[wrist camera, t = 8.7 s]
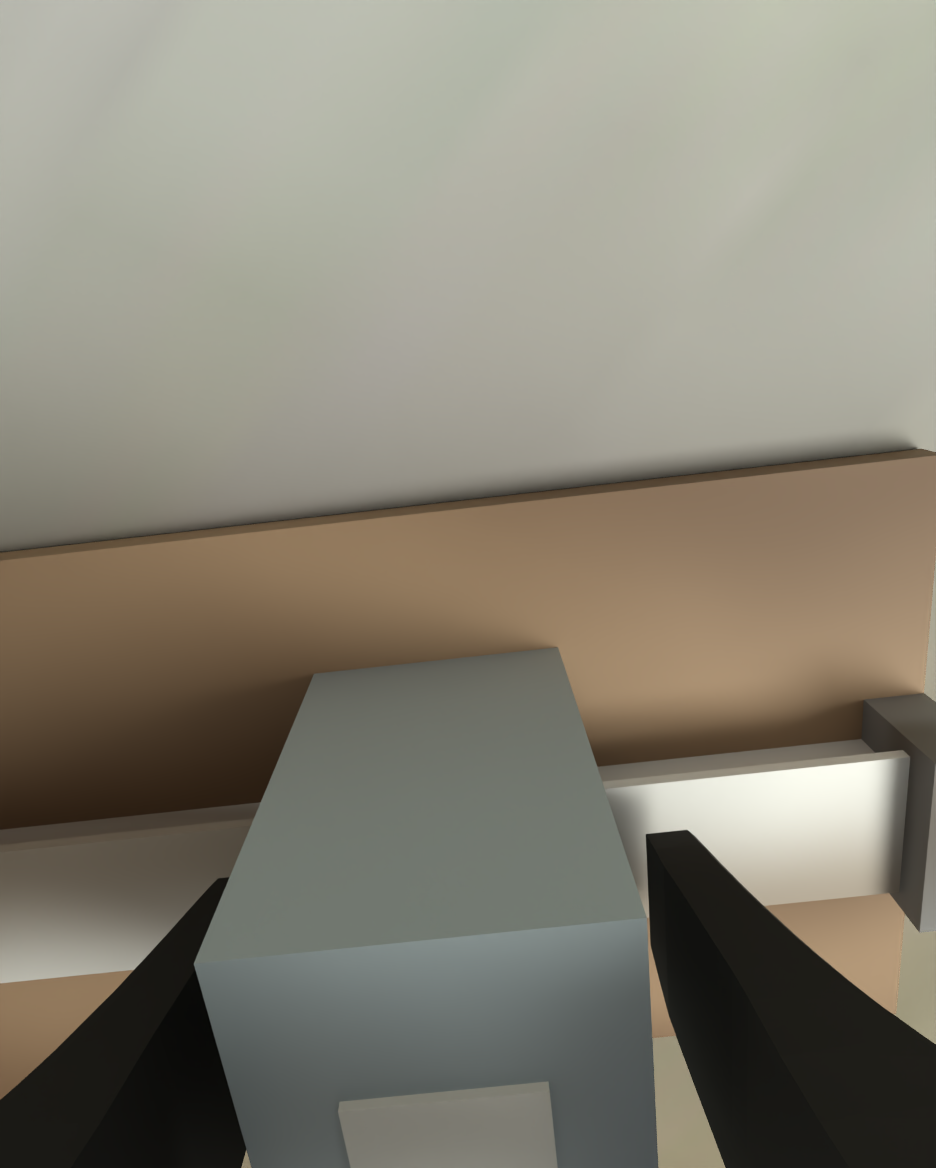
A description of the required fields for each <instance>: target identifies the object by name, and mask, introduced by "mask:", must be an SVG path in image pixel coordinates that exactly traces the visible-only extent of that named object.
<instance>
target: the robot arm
mask: <svg viewBox="0 0 936 1168" xmlns="http://www.w3.org/2000/svg"><path fill="white" fill-rule="evenodd" d="M646 853H647V876H648V898H649V921H650V944H651V949H652V953H653V957H654V961H655V965H656V969H657V973H658V977H659V981H660V985H661V988H662V992H663V996H664V1000H665V1003H666V1007H667V1011H668V1015H669V1018H670V1020H671V1023H672V1026H673V1029H674V1031H675V1034H676V1037H677V1039H678V1042H679V1045H680V1048H681V1050H682V1053H683V1056H684V1058H685V1061H686V1064H687V1066H688V1069H689V1072H690V1074H691V1077H692V1080H693V1082H694V1085H695V1088H696V1090H697V1093H698V1096H699V1098H700V1101H701V1104H702V1106H703V1109H704V1112H705V1114H706V1117H707V1119H708V1122H709V1125H710V1127H711V1130H712V1133H713V1135H714V1138H715V1141H716V1143H717V1146H718V1149H719V1151H720V1154H721V1157H722V1159H723V1162H724V1165H725V1167H726V1168H936V1044H934V1043H933V1042H931V1041H930V1040H928V1039H927V1038H925V1037H924V1036H923V1035H921V1034H920V1033H918V1032H917V1031H916V1030H914V1029H913V1028H911V1027H910V1026H909V1025H907V1024H906V1023H904V1022H903V1021H902V1020H900V1019H899V1018H898V1017H896V1016H895V1015H893V1014H892V1013H891V1012H889V1011H888V1010H887V1009H885V1008H884V1007H882V1006H881V1005H880V1004H878V1003H877V1002H876V1001H874V1000H873V999H872V998H871V997H869V996H868V995H867V994H865V993H864V992H863V991H862V990H860V989H859V988H858V987H857V986H855V985H854V984H853V983H852V982H850V981H849V980H848V979H847V978H845V977H844V976H843V975H842V974H841V973H839V972H838V971H837V970H836V969H835V968H833V967H832V966H831V965H830V964H829V963H827V962H826V961H825V960H824V959H823V958H821V957H820V956H819V955H818V954H817V953H815V952H814V951H813V950H812V949H811V948H810V947H809V946H807V945H806V944H805V943H804V942H803V941H802V940H801V939H799V938H798V937H797V936H796V935H795V934H794V933H793V932H792V931H791V930H790V929H788V928H787V927H786V926H785V925H784V924H783V923H782V922H781V921H780V920H779V919H778V918H777V917H775V916H774V915H773V914H772V913H771V912H770V911H769V910H768V909H767V908H766V907H765V906H763V905H762V904H761V903H760V902H759V901H758V900H757V899H756V898H755V897H754V896H753V895H752V894H751V893H750V892H749V891H748V890H747V889H746V888H745V887H744V886H743V885H742V884H741V883H740V882H739V881H738V880H737V879H736V878H735V877H734V876H733V875H732V874H731V873H730V872H729V871H728V870H727V869H726V868H725V867H724V866H723V865H722V864H721V863H720V862H719V861H718V860H717V859H716V858H715V857H714V856H713V855H712V854H711V852H710V851H709V850H708V849H707V848H706V847H705V846H704V845H703V844H702V843H701V842H700V841H699V840H698V839H697V838H696V837H695V836H694V835H693V834H692V833H691V832H690V831H688V830H679V831H670V832H660V833H650V834H646ZM229 878H230V877H226V878H218V879H217V880H216V881H215V882H214V883H213V884H212V885H211V886H210V887H209V888H208V889H207V890H206V891H205V892H204V894H203V895H202V896H201V897H200V898H199V899H198V900H197V901H196V902H195V903H194V905H193V906H192V907H191V908H190V909H189V910H188V911H187V912H186V913H185V915H184V916H183V917H182V918H181V919H180V920H179V921H178V922H177V924H176V925H175V926H174V927H173V928H172V929H171V930H170V931H169V932H168V934H167V935H166V936H165V937H164V938H163V939H162V940H161V941H160V942H159V943H158V945H157V946H156V947H155V948H154V949H153V950H152V951H151V952H150V953H149V954H148V955H147V956H146V958H145V959H144V960H143V961H142V962H141V963H140V964H139V965H138V966H137V967H136V968H135V969H134V971H133V972H132V973H131V974H130V975H129V976H128V977H127V978H126V979H125V980H124V981H123V982H122V983H121V985H120V986H119V987H118V988H117V989H116V990H115V991H114V992H113V993H112V994H111V995H110V996H109V997H108V998H107V999H106V1000H105V1001H104V1002H103V1003H102V1004H101V1005H100V1006H99V1007H98V1008H97V1009H96V1010H95V1011H94V1012H93V1013H92V1014H91V1015H90V1016H89V1017H88V1018H87V1019H86V1020H85V1021H84V1022H83V1023H82V1024H81V1025H80V1026H79V1027H78V1028H77V1029H76V1030H75V1031H74V1032H73V1033H72V1034H71V1035H70V1036H69V1037H68V1038H67V1039H66V1040H65V1041H64V1042H63V1043H62V1044H61V1045H60V1046H59V1047H58V1048H57V1049H56V1050H55V1051H54V1052H52V1053H51V1054H50V1055H49V1056H48V1057H47V1058H46V1059H45V1060H44V1061H43V1062H42V1063H41V1064H40V1065H39V1066H38V1067H36V1068H35V1069H34V1070H33V1071H32V1072H31V1073H30V1074H29V1075H28V1076H27V1077H25V1078H24V1079H23V1080H22V1081H21V1082H20V1083H19V1084H18V1085H17V1086H15V1087H14V1088H13V1089H12V1090H11V1091H10V1092H9V1093H7V1094H6V1095H5V1096H4V1097H3V1098H2V1099H0V1168H241V1166H242V1163H243V1159H244V1156H245V1152H246V1146H245V1142H244V1139H243V1135H242V1132H241V1128H240V1125H239V1121H238V1118H237V1114H236V1111H235V1107H234V1104H233V1100H232V1097H231V1093H230V1089H229V1086H228V1082H227V1079H226V1075H225V1072H224V1068H223V1065H222V1061H221V1058H220V1054H219V1051H218V1047H217V1044H216V1040H215V1037H214V1033H213V1030H212V1026H211V1023H210V1019H209V1016H208V1012H207V1009H206V1005H205V1001H204V998H203V994H202V991H201V987H200V984H199V980H198V977H197V973H196V970H195V966H194V962H195V960H196V957H197V955H198V952H199V950H200V947H201V945H202V943H203V940H204V938H205V935H206V933H207V931H208V928H209V926H210V923H211V921H212V919H213V916H214V914H215V911H216V909H217V906H218V904H219V902H220V899H221V897H222V894H223V892H224V890H225V887H226V885H227V882H228V880H229Z"/></svg>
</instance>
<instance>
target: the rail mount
mask: <svg viewBox="0 0 936 1168" xmlns="http://www.w3.org/2000/svg"><path fill="white" fill-rule="evenodd" d="M935 558H936V452H932V451H928V450H924V449H915V450H906V451H897V452H888V453H879V454H870V455H862V456H853V457H844V458H835V459H826V460H817V461H808V462H800V463H791V464H782V465H773V466H764V467H755V468H746V469H737V470H729V471H720V472H711V473H702V474H693V475H684V476H675V477H667V478H658V479H649V480H640V481H631V482H622V483H613V484H604V485H596V486H587V487H578V488H569V489H560V490H551V491H542V492H534V493H525V494H516V495H507V496H498V497H489V498H480V499H471V500H463V501H454V502H445V503H436V504H427V505H418V506H409V507H401V508H392V509H383V510H374V511H365V512H356V513H347V514H338V515H330V516H321V517H312V518H303V519H294V520H285V521H276V522H268V523H259V524H250V525H241V526H232V527H223V528H214V529H205V530H197V531H188V532H179V533H170V534H161V535H152V536H143V537H135V538H126V539H117V540H108V541H99V542H90V543H81V544H72V545H64V546H55V547H46V548H37V549H28V550H19V551H10V552H2V553H0V1099H2V1098H3V1097H4V1096H5V1095H6V1094H7V1093H9V1092H10V1091H11V1090H12V1089H13V1088H14V1087H15V1086H17V1085H18V1084H19V1083H20V1082H21V1081H22V1080H23V1079H24V1078H25V1077H27V1076H28V1075H29V1074H30V1073H31V1072H32V1071H33V1070H34V1069H35V1068H36V1067H38V1066H39V1065H40V1064H41V1063H42V1062H43V1061H44V1060H45V1059H46V1058H47V1057H48V1056H49V1055H50V1054H51V1053H52V1052H54V1051H55V1050H56V1049H57V1048H58V1047H59V1046H60V1045H61V1044H62V1043H63V1042H64V1041H65V1040H66V1039H67V1038H68V1037H69V1036H70V1035H71V1034H72V1033H73V1032H74V1031H75V1030H76V1029H77V1028H78V1027H79V1026H80V1025H81V1024H82V1023H83V1022H84V1021H85V1020H86V1019H87V1018H88V1017H89V1016H90V1015H91V1014H92V1013H93V1012H94V1011H95V1010H96V1009H97V1008H98V1007H99V1006H100V1005H101V1004H102V1003H103V1002H104V1001H105V1000H106V999H107V998H108V997H109V996H110V995H111V994H112V993H113V992H114V991H115V990H116V989H117V988H118V987H119V986H120V985H121V983H122V982H123V981H124V980H125V979H126V978H127V977H128V976H129V975H130V974H131V973H132V972H133V971H134V969H135V968H136V967H137V966H138V965H139V964H140V963H141V962H142V961H143V960H144V959H145V958H146V956H147V955H148V954H149V953H150V952H151V951H152V950H153V949H154V948H155V947H156V946H157V945H158V943H159V942H160V941H161V940H162V939H163V938H164V937H165V936H166V935H167V934H168V932H169V931H170V930H171V929H172V928H173V927H174V926H175V925H176V924H177V922H178V921H179V920H180V919H181V918H182V917H183V916H184V915H185V913H186V912H187V911H188V910H189V909H190V908H191V907H192V906H193V905H194V903H195V902H196V901H197V900H198V899H199V898H200V897H201V896H202V895H203V894H204V892H205V891H206V890H207V889H208V888H209V887H210V886H211V885H212V884H213V883H214V882H215V881H216V880H217V879H218V878H226V877H230V875H231V873H232V870H233V868H234V866H235V863H236V861H237V858H238V856H239V853H240V851H241V849H242V846H243V844H244V841H245V839H246V837H247V834H248V832H249V829H250V827H251V825H252V822H253V820H254V817H255V815H256V813H257V810H258V808H259V805H260V803H261V800H262V798H263V796H264V793H265V791H266V788H267V786H268V784H269V781H270V779H271V776H272V774H273V772H274V769H275V767H276V764H277V762H278V759H279V757H280V755H281V752H282V750H283V747H284V745H285V743H286V740H287V738H288V735H289V733H290V731H291V728H292V726H293V723H294V721H295V719H296V716H297V714H298V711H299V709H300V706H301V704H302V702H303V699H304V697H305V694H306V692H307V690H308V687H309V685H310V682H311V680H312V678H313V675H314V674H317V673H326V672H335V671H344V670H354V669H363V668H372V667H381V666H390V665H400V664H409V663H418V662H427V661H437V660H446V659H455V658H464V657H473V656H483V655H492V654H501V653H510V652H520V651H529V650H538V649H547V648H556V647H558V648H559V652H560V655H561V658H562V661H563V664H564V667H565V670H566V673H567V676H568V679H569V682H570V685H571V688H572V691H573V694H574V697H575V700H576V703H577V706H578V709H579V712H580V716H581V719H582V722H583V725H584V728H585V731H586V734H587V737H588V740H589V743H590V746H591V749H592V752H593V755H594V758H595V761H596V764H597V767H598V770H599V773H600V776H601V780H602V783H603V786H604V789H605V792H606V795H607V798H608V801H609V804H610V807H611V810H612V813H613V816H614V819H615V822H616V825H617V828H618V831H619V834H620V837H621V840H622V844H623V847H624V850H625V853H626V856H627V859H628V862H629V865H630V868H631V871H632V874H633V877H634V880H635V883H636V886H637V889H638V892H639V895H640V898H641V901H642V904H643V908H644V911H645V914H646V917H647V932H648V954H649V976H650V998H651V1020H652V1038H657V1037H667V1036H676V1034H675V1031H674V1029H673V1026H672V1023H671V1020H670V1018H669V1015H668V1011H667V1007H666V1003H665V1000H664V996H663V992H662V988H661V985H660V981H659V977H658V973H657V969H656V965H655V961H654V957H653V953H652V949H651V944H650V921H649V898H648V876H647V853H646V834H650V833H660V832H670V831H679V830H688V831H690V832H691V833H692V834H693V835H694V836H695V837H696V838H697V839H698V840H699V841H700V842H701V843H702V844H703V845H704V846H705V847H706V848H707V849H708V850H709V851H710V852H711V854H712V855H713V856H714V857H715V858H716V859H717V860H718V861H719V862H720V863H721V864H722V865H723V866H724V867H725V868H726V869H727V870H728V871H729V872H730V873H731V874H732V875H733V876H734V877H735V878H736V879H737V880H738V881H739V882H740V883H741V884H742V885H743V886H744V887H745V888H746V889H747V890H748V891H749V892H750V893H751V894H752V895H753V896H754V897H755V898H756V899H757V900H758V901H759V902H760V903H761V904H762V905H763V906H765V907H766V908H767V909H768V910H769V911H770V912H771V913H772V914H773V915H774V916H775V917H777V918H778V919H779V920H780V921H781V922H782V923H783V924H784V925H785V926H786V927H787V928H788V929H790V930H791V931H792V932H793V933H794V934H795V935H796V936H797V937H798V938H799V939H801V940H802V941H803V942H804V943H805V944H806V945H807V946H809V947H810V948H811V949H812V950H813V951H814V952H815V953H817V954H818V955H819V956H820V957H821V958H823V959H824V960H825V961H826V962H827V963H829V964H830V965H831V966H832V967H833V968H835V969H836V970H837V971H838V972H839V973H841V974H842V975H843V976H844V977H845V978H847V979H848V980H849V981H850V982H852V983H853V984H854V985H855V986H857V987H858V988H859V989H860V990H862V991H863V992H864V993H865V994H867V995H868V996H869V997H871V998H872V999H873V1000H874V1001H876V1002H877V1003H878V1004H880V1005H881V1006H882V1007H884V1008H885V1009H887V1010H888V1011H889V1012H891V1013H892V1014H896V1008H897V997H898V985H899V974H900V962H901V951H902V939H903V928H904V916H905V914H906V916H907V917H908V918H909V919H910V921H911V922H912V923H913V925H914V926H915V927H916V929H917V930H918V931H919V932H929V931H936V702H935V701H933V700H932V699H931V698H929V697H928V696H927V695H926V694H924V685H925V674H926V662H927V651H928V639H929V628H930V616H931V604H932V593H933V581H934V570H935Z"/></svg>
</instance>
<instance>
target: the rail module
mask: <svg viewBox="0 0 936 1168" xmlns="http://www.w3.org/2000/svg"><path fill="white" fill-rule="evenodd" d="M194 966H195V970H196V973H197V977H198V980H199V984H200V987H201V991H202V994H203V998H204V1001H205V1005H206V1009H207V1012H208V1016H209V1019H210V1023H211V1026H212V1030H213V1033H214V1037H215V1040H216V1044H217V1047H218V1051H219V1054H220V1058H221V1061H222V1065H223V1068H224V1072H225V1075H226V1079H227V1082H228V1086H229V1089H230V1093H231V1097H232V1100H233V1104H234V1107H235V1111H236V1114H237V1118H238V1121H239V1125H240V1128H241V1132H242V1135H243V1139H244V1142H245V1146H246V1149H247V1153H248V1156H249V1160H250V1163H251V1167H252V1168H658V1153H657V1131H656V1109H655V1087H654V1065H653V1042H652V1020H651V998H650V976H649V954H648V932H647V917H646V914H645V911H644V908H643V904H642V901H641V898H640V895H639V892H638V889H637V886H636V883H635V880H634V877H633V874H632V871H631V868H630V865H629V862H628V859H627V856H626V853H625V850H624V847H623V844H622V840H621V837H620V834H619V831H618V828H617V825H616V822H615V819H614V816H613V813H612V810H611V807H610V804H609V801H608V798H607V795H606V792H605V789H604V786H603V783H602V780H601V776H600V773H599V770H598V767H597V764H596V761H595V758H594V755H593V752H592V749H591V746H590V743H589V740H588V737H587V734H586V731H585V728H584V725H583V722H582V719H581V716H580V712H579V709H578V706H577V703H576V700H575V697H574V694H573V691H572V688H571V685H570V682H569V679H568V676H567V673H566V670H565V667H564V664H563V661H562V658H561V655H560V652H559V648H558V647H556V648H547V649H538V650H529V651H520V652H510V653H501V654H492V655H483V656H473V657H464V658H455V659H446V660H437V661H427V662H418V663H409V664H400V665H390V666H381V667H372V668H363V669H354V670H344V671H335V672H326V673H317V674H314V675H313V678H312V680H311V682H310V685H309V687H308V690H307V692H306V694H305V697H304V699H303V702H302V704H301V706H300V709H299V711H298V714H297V716H296V719H295V721H294V723H293V726H292V728H291V731H290V733H289V735H288V738H287V740H286V743H285V745H284V747H283V750H282V752H281V755H280V757H279V759H278V762H277V764H276V767H275V769H274V772H273V774H272V776H271V779H270V781H269V784H268V786H267V788H266V791H265V793H264V796H263V798H262V800H261V803H260V805H259V808H258V810H257V813H256V815H255V817H254V820H253V822H252V825H251V827H250V829H249V832H248V834H247V837H246V839H245V841H244V844H243V846H242V849H241V851H240V853H239V856H238V858H237V861H236V863H235V866H234V868H233V870H232V873H231V875H230V878H229V880H228V882H227V885H226V887H225V890H224V892H223V894H222V897H221V899H220V902H219V904H218V906H217V909H216V911H215V914H214V916H213V919H212V921H211V923H210V926H209V928H208V931H207V933H206V935H205V938H204V940H203V943H202V945H201V947H200V950H199V952H198V955H197V957H196V960H195V962H194Z"/></svg>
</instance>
